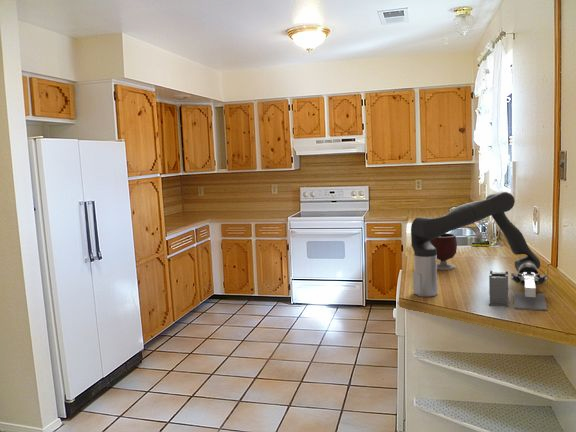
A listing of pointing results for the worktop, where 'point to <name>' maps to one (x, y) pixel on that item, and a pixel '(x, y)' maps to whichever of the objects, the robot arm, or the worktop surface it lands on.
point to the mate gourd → (445, 250)
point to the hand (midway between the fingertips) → (529, 282)
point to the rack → (498, 289)
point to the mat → (529, 302)
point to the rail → (529, 286)
